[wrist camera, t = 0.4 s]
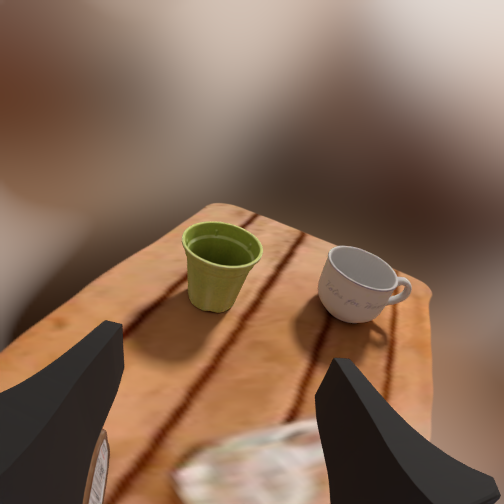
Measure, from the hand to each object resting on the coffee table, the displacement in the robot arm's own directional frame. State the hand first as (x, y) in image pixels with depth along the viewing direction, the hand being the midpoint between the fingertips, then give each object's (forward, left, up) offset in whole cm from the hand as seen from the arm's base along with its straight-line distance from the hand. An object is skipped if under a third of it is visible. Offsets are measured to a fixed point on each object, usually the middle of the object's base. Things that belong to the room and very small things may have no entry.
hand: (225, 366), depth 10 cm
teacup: (+27, -21, -20) cm, 40 cm away
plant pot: (+25, 0, -20) cm, 32 cm away
